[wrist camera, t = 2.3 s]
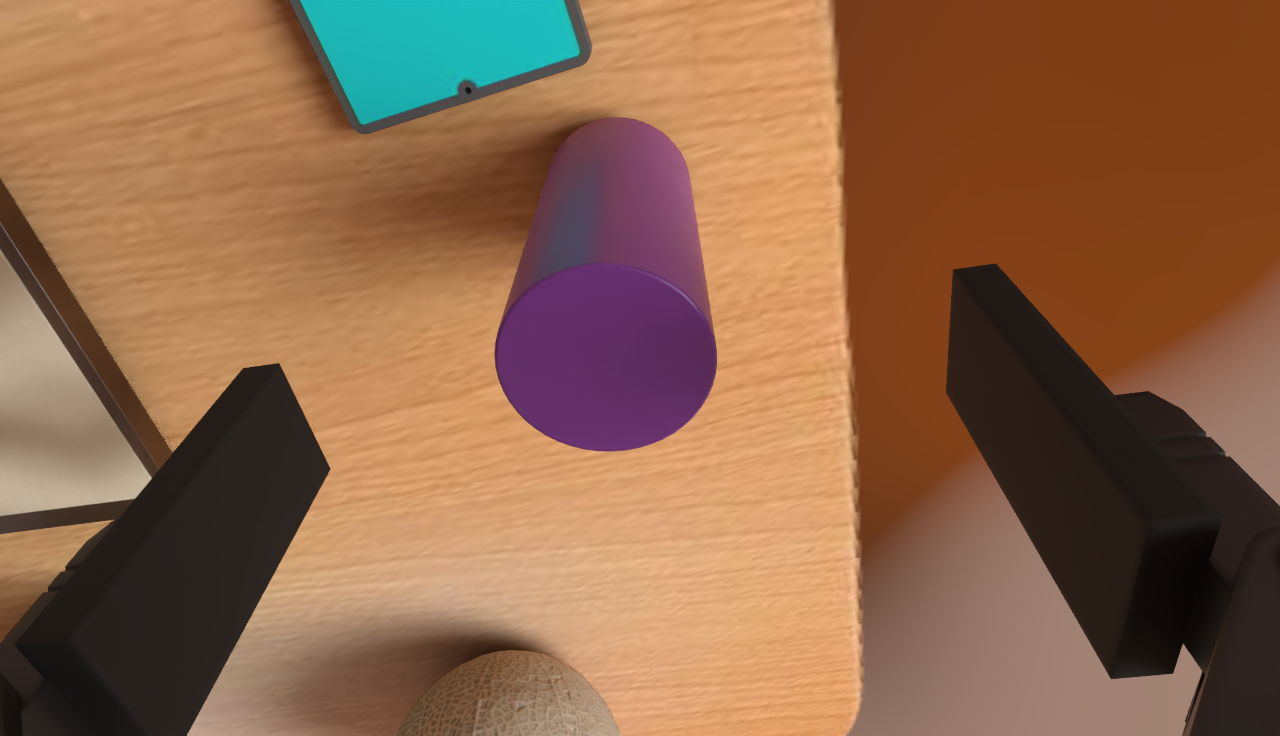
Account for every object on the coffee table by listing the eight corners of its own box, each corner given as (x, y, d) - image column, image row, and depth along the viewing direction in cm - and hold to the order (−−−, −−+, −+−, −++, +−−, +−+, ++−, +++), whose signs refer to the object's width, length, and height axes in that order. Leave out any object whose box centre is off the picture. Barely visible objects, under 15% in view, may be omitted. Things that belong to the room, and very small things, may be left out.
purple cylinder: (533, 124, 23) (466, 283, 14) (679, 100, 23) (703, 247, 14) (565, 257, 26) (524, 464, 17) (697, 237, 25) (728, 438, 16)
